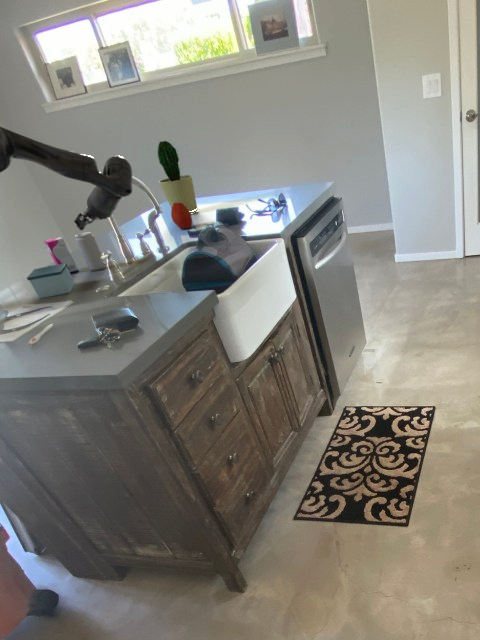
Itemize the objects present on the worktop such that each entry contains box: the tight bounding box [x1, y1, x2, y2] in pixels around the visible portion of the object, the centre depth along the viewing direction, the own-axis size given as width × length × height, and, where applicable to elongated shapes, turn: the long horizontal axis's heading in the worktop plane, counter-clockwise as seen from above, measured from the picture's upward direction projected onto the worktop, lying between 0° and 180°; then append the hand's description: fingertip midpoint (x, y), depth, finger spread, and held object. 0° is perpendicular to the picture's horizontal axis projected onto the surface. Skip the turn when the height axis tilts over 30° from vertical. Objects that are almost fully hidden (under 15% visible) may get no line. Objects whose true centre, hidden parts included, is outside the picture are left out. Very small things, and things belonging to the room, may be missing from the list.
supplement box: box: [43, 236, 80, 275], centre depth 191 cm, size 6×6×12 cm
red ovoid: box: [170, 201, 193, 230], centre depth 225 cm, size 8×8×11 cm
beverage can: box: [74, 231, 107, 272], centre depth 190 cm, size 6×6×12 cm
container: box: [26, 263, 76, 299], centre depth 176 cm, size 11×11×7 cm
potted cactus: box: [155, 139, 199, 214], centre depth 244 cm, size 15×15×30 cm
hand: (89, 222), depth 180 cm, fingers open, 8 cm apart
